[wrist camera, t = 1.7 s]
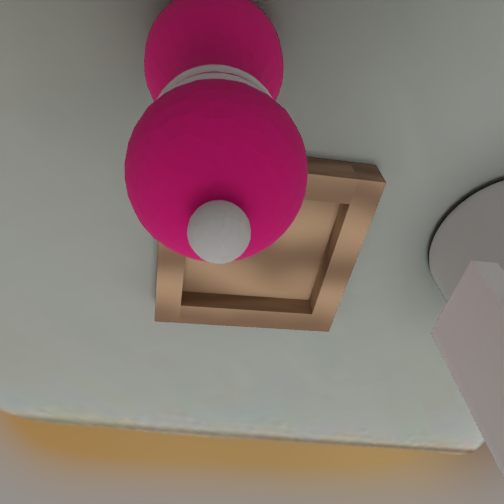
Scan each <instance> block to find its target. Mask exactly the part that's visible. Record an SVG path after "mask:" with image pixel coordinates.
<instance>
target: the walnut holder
mask: <svg viewBox="0 0 504 504" xmlns="http://www.w3.org/2000/svg"><path fill="white" fill-rule="evenodd" d="M307 164H308V176H307V186H306V193H305V197H304V200H303V203H302V206H301V209H300V210H299V212H298V214H297V216H296V218H295V219H294V221H293V223H292V224H291V225H290V227H289V228H288V229H287V230H286V232H285V233H284V234H283V235H282V236H281V237H280V238H279V239H277V240H276V241H275V242H274V243H273V244H272V245H271V246H269V247H268V248H266V249H264V250H262V251H260V252H259V253H257V254H255V255H252V256H250V257H247V258H244V259H241V260H236V261H231V262H228V263H224V264H215V263H211V262H206V261H200V260H194V259H191V258H189V257H186V256H183V255H180V254H178V253H176V252H174V251H173V250H171V249H169V248H167V247H165V246H164V245H163V244H162V243H160V242H159V245H158V264H157V283H156V302H155V321H159V322H175V323H192V324H209V325H226V326H242V327H259V328H276V329H293V330H310V331H326V332H329V330H330V327H331V324H332V322H333V319H334V317H335V314H336V311H337V309H338V306H339V304H340V301H341V298H342V296H343V293H344V291H345V288H346V285H347V283H348V280H349V278H350V275H351V273H352V270H353V267H354V265H355V262H356V260H357V257H358V254H359V252H360V249H361V247H362V244H363V241H364V239H365V236H366V234H367V231H368V228H369V226H370V223H371V221H372V218H373V216H374V213H375V210H376V208H377V205H378V203H379V200H380V197H381V195H382V192H383V190H384V187H385V184H386V181H385V180H384V178H383V176H382V175H381V173H380V171H379V170H378V168H377V166H376V165H370V164H362V163H353V162H345V161H336V160H328V159H320V158H311V157H307Z"/></svg>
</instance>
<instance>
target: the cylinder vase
mask: <svg viewBox="0 0 504 504" xmlns="http://www.w3.org/2000/svg"><path fill="white" fill-rule="evenodd" d="M471 261H481V262H493V263H498V264H499V266H500V267H501V268H502V269H503V271H504V180H503V181H500V182H497V183H495V184H492V185H490V186H488V187H486V188H484V189H482V190H480V191H478V192H476V193H475V194H473V195H472V196H470V197H469V198H467V199H466V200H464V201H463V202H462V203H461V204H459V205H458V206H457V207H456V208H455V209H454V210H453V211H452V212H451V213H450V214H449V215H448V216H447V217H446V219H445V220H444V221H443V223H442V224H441V225H440V227H439V229H438V230H437V232H436V234H435V236H434V238H433V241H432V244H431V247H430V253H429V266H430V270H431V274H432V276H433V278H434V280H435V282H436V284H437V285H438V287H439V289H440V291H441V292H442V294H443V296H444V298H445V299H446V301H447V302H448V301H449V299H450V297H451V295H452V294H453V292H454V290H455V288H456V287H457V285H458V283H459V281H460V279H461V278H462V276H463V274H464V272H465V271H466V269H467V267H468V265H469V264H470V262H471Z"/></svg>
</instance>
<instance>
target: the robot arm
mask: <svg viewBox="0 0 504 504" xmlns="http://www.w3.org/2000/svg"><path fill="white" fill-rule="evenodd" d="M430 333H431V335H432V337H433V339H434V340H435V342H436V344H437V346H438V348H439V350H440V352H441V354H442V356H443V358H444V360H445V362H446V364H447V366H448V368H449V370H450V372H451V374H452V376H453V378H454V380H455V382H456V384H457V386H458V388H459V390H460V392H461V394H462V396H463V398H464V400H465V402H466V404H467V406H468V408H469V410H470V412H471V414H472V416H473V418H474V420H475V422H476V424H477V426H478V428H479V430H480V432H481V434H482V436H483V438H484V440H485V442H486V444H487V446H488V448H489V450H490V452H491V454H492V455H493V458H494V460H495V462H496V463H497V465H498V467H499V469H500V471H501V473H502V475H503V477H504V271H503V269H502V268H501V267H500V266H499V264H498V263H493V262H481V261H471V262H470V264H469V265H468V267H467V269H466V271H465V272H464V274H463V276H462V278H461V279H460V281H459V283H458V285H457V287H456V288H455V290H454V292H453V294H452V295H451V297H450V299H449V301H448V302H447V304H446V306H445V308H444V309H443V311H442V313H441V315H440V316H439V318H438V320H437V322H436V323H435V325H434V327H433V329H432V331H431V332H430Z"/></svg>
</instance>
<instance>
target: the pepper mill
mask: <svg viewBox="0 0 504 504" xmlns="http://www.w3.org/2000/svg"><path fill="white" fill-rule="evenodd" d="M144 68H145V77H146V82H147V86H148V89H149V91H150V93H151V95H152V98H153V100H154V102H153V103H152V104H151V105H150V106H149V107H148V108H147V109H146V111H145V112H144V114H143V115H142V117H141V118H140V120H139V121H138V123H137V124H136V126H135V127H134V130H133V132H132V135H131V137H130V140H129V143H128V148H127V153H126V159H125V181H126V187H127V193H128V197H129V199H130V202H131V204H132V206H133V209H134V211H135V213H136V215H137V217H138V219H139V220H140V222H141V223H142V225H143V226H144V228H145V229H146V230H147V231H148V232H149V233H150V234H151V235H152V236H153V237H154V238H155V239H156V240H158V241H159V242H160V243H162V244H163V245H164V246H165V247H167V248H169V249H171V250H173V251H174V252H176V253H178V254H180V255H183V256H186V257H189V258H191V259H194V260H200V261H206V262H211V263H215V264H224V263H228V262H231V261H236V260H241V259H244V258H247V257H250V256H252V255H255V254H257V253H259V252H260V251H262V250H264V249H266V248H268V247H269V246H271V245H272V244H273V243H274V242H275V241H276V240H277V239H279V238H280V237H281V236H282V235H283V234H284V233H285V232H286V230H287V229H288V228H289V227H290V225H291V224H292V223H293V221H294V219H295V218H296V216H297V214H298V212H299V210H300V209H301V206H302V203H303V200H304V197H305V193H306V186H307V176H308V164H307V157H306V151H305V147H304V144H303V140H302V137H301V135H300V133H299V131H298V129H297V127H296V125H295V124H294V122H293V121H292V119H291V118H290V116H289V114H288V113H287V111H286V110H285V109H284V108H283V107H281V106H280V105H279V104H278V103H277V102H276V101H275V100H276V98H277V96H278V94H279V91H280V88H281V84H282V79H283V56H282V50H281V45H280V41H279V38H278V35H277V32H276V31H275V29H274V27H273V25H272V23H271V21H270V20H269V19H268V17H267V16H266V15H265V13H264V12H263V11H262V10H261V9H260V8H259V7H258V6H257V5H256V4H254V3H253V2H251V1H250V0H174V1H173V2H171V3H170V4H169V5H168V6H167V7H166V8H165V9H164V10H163V11H162V12H161V13H160V14H159V16H158V17H157V19H156V20H155V21H154V23H153V25H152V28H151V30H150V32H149V35H148V38H147V42H146V48H145V59H144Z"/></svg>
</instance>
